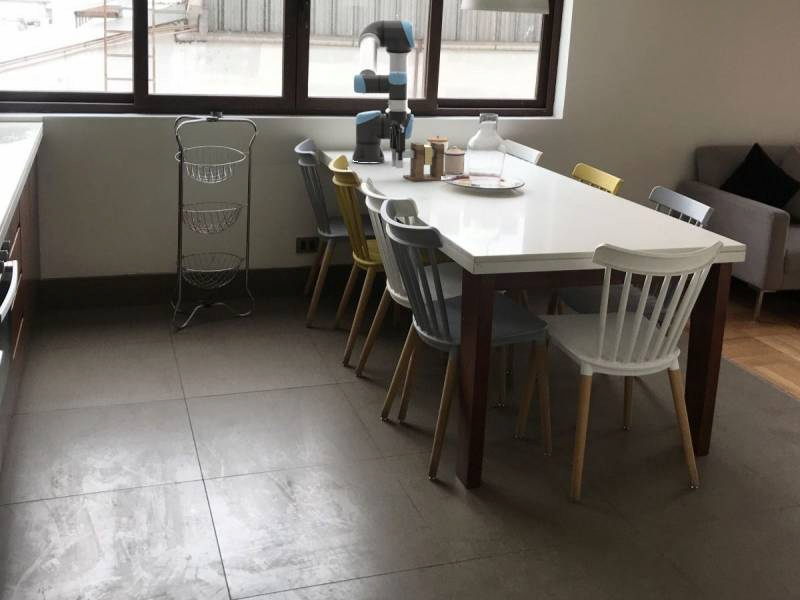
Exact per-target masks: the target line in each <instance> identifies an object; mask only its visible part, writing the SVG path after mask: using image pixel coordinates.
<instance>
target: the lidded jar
mask: <svg viewBox="0 0 800 600" xmlns="http://www.w3.org/2000/svg"><path fill="white" fill-rule="evenodd" d="M426 141H427V144H426V145H428V146H430V143H431V142H440V143H443V144H444V153H445V151H448V150H449V149H448V148H449V142H450V139H449V138H448V137H440V135H439V134H437V135H436V137H435V136H434V137H428V138H427V139H426Z"/></svg>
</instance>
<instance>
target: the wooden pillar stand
mask: <svg viewBox="0 0 800 600" xmlns="http://www.w3.org/2000/svg"><path fill="white" fill-rule="evenodd" d="M424 145H425V144H423V143H420V142H416V141H415V142H410V150H411V149H416V158H409V159H410V162H409V163H410V164H409V165H410V169H409V171H410V172H409V173H410V174H403V176H402V178H403V179H404V180H407V181H410V182H412V183H422V182H425V183H427V182H442V181H441V176H446V175H445V172H444V166H445V154H444V144H443V143H440V142H431V143H430V146H431V147H432V149H436V157H432V165H429V173H425V165H424Z"/></svg>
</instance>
